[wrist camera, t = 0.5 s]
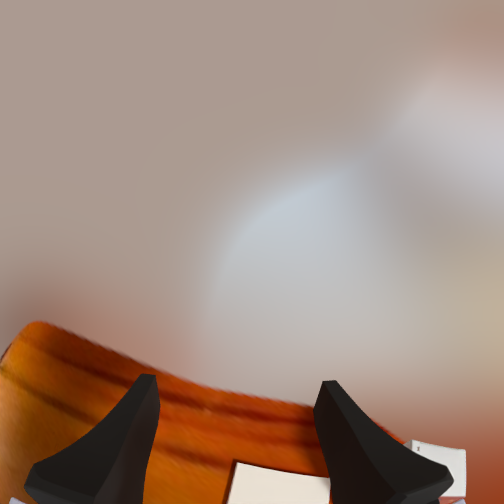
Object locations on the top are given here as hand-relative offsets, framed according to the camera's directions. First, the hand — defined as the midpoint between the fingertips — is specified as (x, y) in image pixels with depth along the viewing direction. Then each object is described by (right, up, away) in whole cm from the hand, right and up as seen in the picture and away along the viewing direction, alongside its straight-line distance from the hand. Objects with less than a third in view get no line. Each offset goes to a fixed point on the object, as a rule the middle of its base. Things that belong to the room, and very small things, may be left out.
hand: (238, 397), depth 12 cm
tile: (+3, -18, +8) cm, 20 cm away
